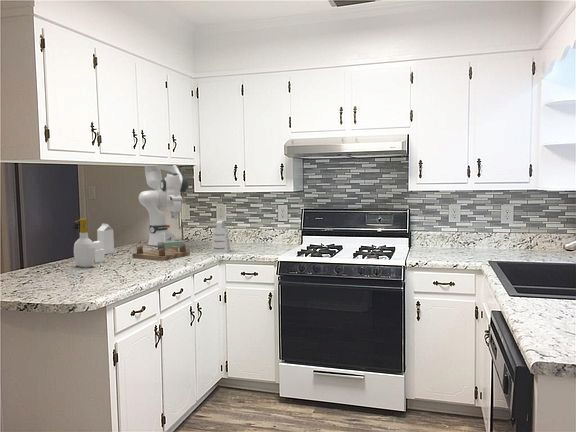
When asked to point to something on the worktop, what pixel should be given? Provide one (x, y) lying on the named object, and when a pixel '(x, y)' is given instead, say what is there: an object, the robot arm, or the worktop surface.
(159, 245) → the hinged leg
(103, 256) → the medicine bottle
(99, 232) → the milk carton
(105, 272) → the worktop surface
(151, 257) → the stool seat
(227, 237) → the grey tiered tower
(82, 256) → the soap bottle
